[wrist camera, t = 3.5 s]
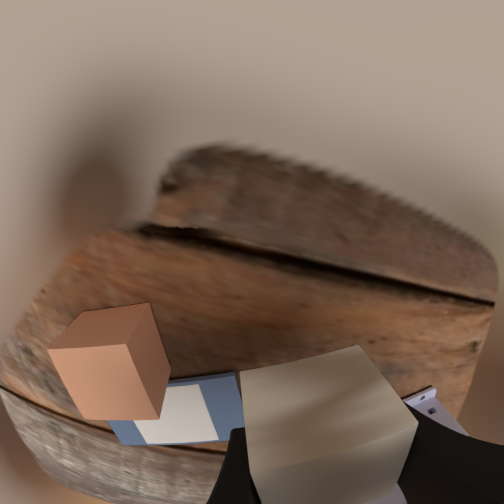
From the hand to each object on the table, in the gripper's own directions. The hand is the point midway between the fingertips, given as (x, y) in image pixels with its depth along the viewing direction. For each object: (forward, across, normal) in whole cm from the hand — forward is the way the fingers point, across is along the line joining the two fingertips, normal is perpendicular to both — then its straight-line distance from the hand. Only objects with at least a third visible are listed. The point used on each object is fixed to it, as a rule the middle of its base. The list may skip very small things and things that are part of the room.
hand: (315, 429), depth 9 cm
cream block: (+2, 0, 0) cm, 2 cm away
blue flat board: (+7, +8, +5) cm, 12 cm away
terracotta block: (+8, +9, -1) cm, 12 cm away
